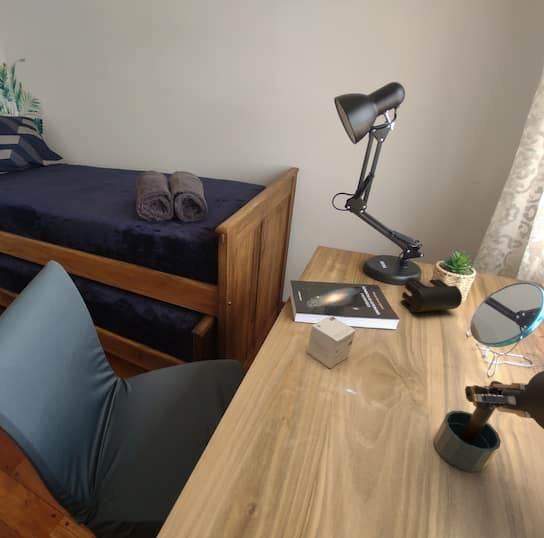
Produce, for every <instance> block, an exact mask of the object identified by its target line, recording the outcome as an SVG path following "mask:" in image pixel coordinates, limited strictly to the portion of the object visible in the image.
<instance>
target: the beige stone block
mask: <svg viewBox="0 0 544 538" xmlns="http://www.w3.org/2000/svg"><path fill="white" fill-rule="evenodd" d="M355 334H356V329H354V328H353V327H351V326H350V325H348V324H347V323H344V322H343V321H341V320H339V319H338V318H336V317H335V316H333V315H330V316H328V317H325V318H323V319H321V320H319V321H318V322H316V323H314V324H312V325H311V328H310V335H309V338H308V342H307V343H308V344H307V348H306V352H307V354H309V355H310V356H311V357H313V358H314V359H316V360H317V361H318V362H320V364H323V365H324V366H325V367H327V368H329V369H331V368H333V367H335V366H336V365H337V364H339V363H341V362H342V361H344V360H346V359H348V358H349V355H350V352H351V348H352V344H353V341H354V337H355Z"/></svg>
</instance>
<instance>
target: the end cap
mask: <svg viewBox="0 0 544 538" xmlns="http://www.w3.org/2000/svg"><path fill="white" fill-rule="evenodd" d="M428 282H429V283H431V284H432V285H433V286H430V285H429V286H428V285H425V284H424V283H422V282H421V281H420V280H411V281H407V282H406V283H405V286H404V289H406V290H407V291H408V292H409V293H410V294H411V295H409V294H408V293H407V292H406V291H403V292H402V295H401V298H402V299H401V301H400V302H401V305H403V306H404V307H405V308H406V309H407V310H408V311H409V312H411V313H420V312H421V313H424V312H435V311H436V312H437V311H448V310H455V309H457V308H459V307H460V306H461V304H462V301H463V295H462V292H461V290H460V288H459V287H458V286H456V285H448V284H447V283H445V282H444V281H443V280H442V279H440V278H438V279H437V278H436V279H429V281H428Z"/></svg>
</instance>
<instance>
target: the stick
mask: <svg viewBox="0 0 544 538" xmlns="http://www.w3.org/2000/svg"><path fill="white" fill-rule="evenodd" d="M493 384H504V383H503V382H501V381H497V380H493V381H490V383H489V385H488V387H492V386H493ZM493 394H494V393H493ZM496 410H497V409H496V407H493V408H489V409H486V410H482V409H481V408H477V407H475V409H474V410H473V412H472V415H471V417H470V419H469V420H468V422H467V424H466V426H465V427H464V429H463V431H462V432H461V434H460V436H458V437H459V438H460V439H461V440H463V441H464V442H466V443H468V444H470V445H472V446H474V445H473V444H474V442H475V440H476V439H477V437H478V436H479V434H480V432H481V431H482V429H483V428H484V426H485V425H486V423H488V422H489V420H490V419H491V416H493V413H494V412H495V411H496Z"/></svg>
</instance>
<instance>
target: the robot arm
mask: <svg viewBox="0 0 544 538" xmlns="http://www.w3.org/2000/svg"><path fill="white" fill-rule="evenodd" d="M464 393H465V399H466V400H467V401H468V403H472V406H474V407H475V408H476V407H477V408H481V409H482V410H486V409H489V408H493V407H496V409H495V410H497V411H498V412H501V413H507V414H514V415H516V416H517V417H520V418H525V419H533V420H534V422H535V423H536V424H537V425H538V426H539V427H540V428H541V429H543V430H544V370H541V371H539V372H537V373H535V375H533V376H532V377H531V378H530V380H529V381H528V383H525V382H524V383H523V382H511V384H507V383H503V384H493V386H492V387H489V385H483V386H481V385H480V386H479V385H477V384H476V385H475V384H474V385H473V386H472V385H466V386H465V388H464ZM493 393H494V394H493Z"/></svg>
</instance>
